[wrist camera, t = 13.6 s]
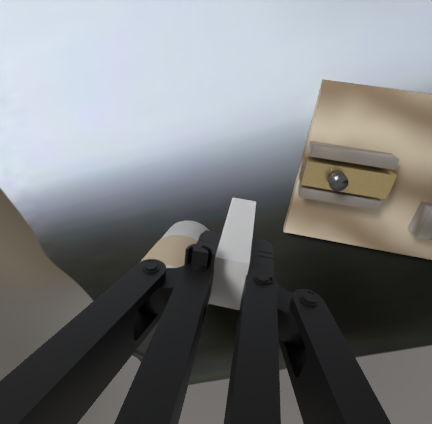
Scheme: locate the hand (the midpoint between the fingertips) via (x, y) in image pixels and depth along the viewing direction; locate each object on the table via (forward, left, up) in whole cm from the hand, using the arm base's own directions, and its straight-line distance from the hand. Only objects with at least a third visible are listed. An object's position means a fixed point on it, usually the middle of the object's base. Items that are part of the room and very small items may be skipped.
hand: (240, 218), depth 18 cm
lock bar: (0, +9, -13) cm, 16 cm away
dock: (0, +17, -14) cm, 22 cm away
